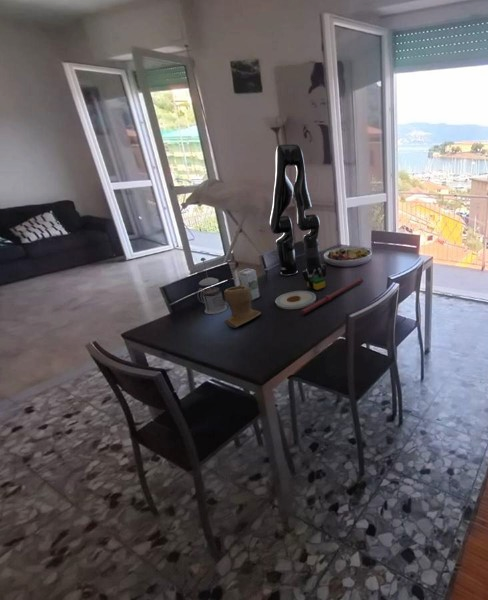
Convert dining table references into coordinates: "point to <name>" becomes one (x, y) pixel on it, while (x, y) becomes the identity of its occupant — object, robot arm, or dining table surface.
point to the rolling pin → (330, 296)
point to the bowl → (347, 256)
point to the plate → (295, 300)
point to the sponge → (318, 282)
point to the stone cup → (239, 306)
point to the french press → (218, 299)
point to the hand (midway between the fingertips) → (316, 286)
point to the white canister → (250, 282)
